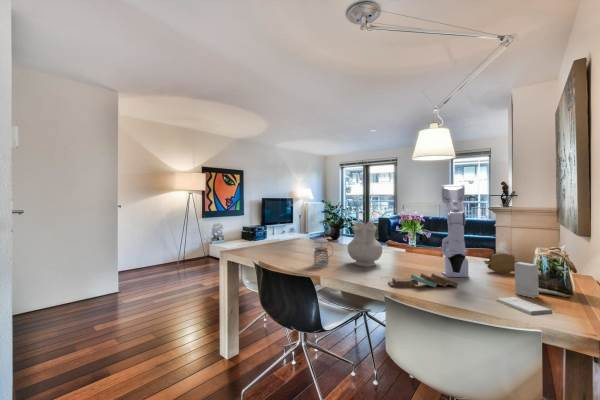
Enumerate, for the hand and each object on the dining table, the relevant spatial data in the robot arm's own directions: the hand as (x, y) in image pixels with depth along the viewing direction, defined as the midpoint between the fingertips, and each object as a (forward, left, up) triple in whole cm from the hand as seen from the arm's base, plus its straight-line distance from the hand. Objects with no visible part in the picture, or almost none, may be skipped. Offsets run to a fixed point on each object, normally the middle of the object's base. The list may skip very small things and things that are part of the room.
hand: (456, 272), depth 118 cm
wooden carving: (-34, -24, -6) cm, 42 cm away
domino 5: (+1, 0, -5) cm, 5 cm away
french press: (+56, -34, -6) cm, 66 cm away
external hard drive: (-12, +22, -7) cm, 25 cm away
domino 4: (+5, 0, -5) cm, 7 cm away
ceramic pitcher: (+32, -38, -6) cm, 50 cm away
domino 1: (+19, 0, -6) cm, 20 cm away
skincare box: (-21, +10, -6) cm, 24 cm away
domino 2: (+17, 0, -4) cm, 17 cm away
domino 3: (+10, 0, -5) cm, 11 cm away
